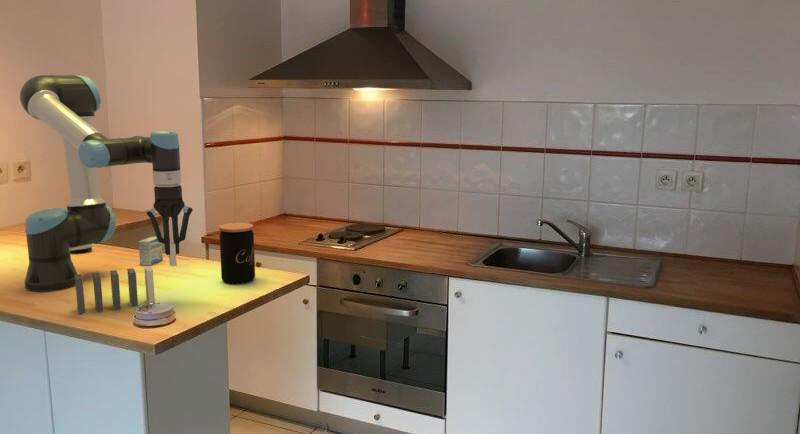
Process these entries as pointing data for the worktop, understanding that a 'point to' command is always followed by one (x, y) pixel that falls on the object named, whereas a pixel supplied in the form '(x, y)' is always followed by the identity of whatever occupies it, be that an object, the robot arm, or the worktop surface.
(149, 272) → the domino
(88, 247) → the spread jar
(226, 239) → the coffee jar
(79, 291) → the domino
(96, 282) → the domino
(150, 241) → the medicine box
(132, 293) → the domino
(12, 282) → the worktop surface
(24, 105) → the robot arm
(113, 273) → the domino
